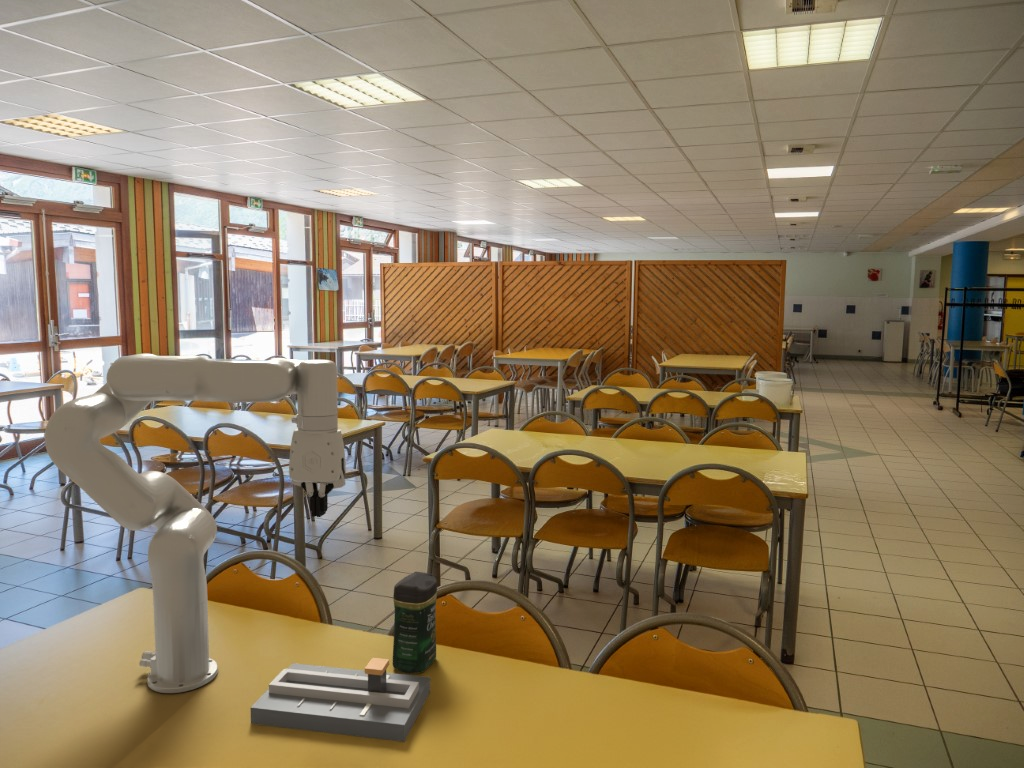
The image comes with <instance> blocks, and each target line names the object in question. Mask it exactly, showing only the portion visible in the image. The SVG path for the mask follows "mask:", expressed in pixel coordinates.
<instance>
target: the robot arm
mask: <svg viewBox="0 0 1024 768" xmlns="http://www.w3.org/2000/svg"><path fill="white" fill-rule="evenodd" d="M289 395H290V396H291V395H297V397H296V398H297V399H296V400H297V414H296V416H293V415H292V416H291V421H290V422H291V424H296V428H297V429H294V430H293V432H292V437H291V441H290V442H291V443H290V448H289V449H290V451H289V463H288V475H289V479H290V480H291V484H292V485H294V486H298V487H301V488H302V489H303V490H304V491H305V492H306V494H307V496H308V497H309V511H310V512H311V517H312V518H322V516H324V515H325V514H327V513H326V512H327V511H328V509H329V507H328V503H329V502H328V495H329V494H330V493H331V492H332V491H333V490H335V489H339V488H343V487H345V485H346V479H345V476H346V468H347V467H346V452H345V445H344V444H345V443H344V438H343V434H342V429H339V427H338V426H339V425H338V421H339V420H338V419H339V418H338V415H339V414H338V411H339V409H338V366H337V364H336V363H335V361H332V360H329V359H305V360H300V359H290V358H286V357H285V358H284V357H275V358H270V359H267V360H265V361H224V360H223V361H222V360H214V359H211V358H209V357H206V356H204V355H203V356H202V355H156V354H153V353H147V352H146V353H136V354H131V355H126V356H123V357H122V356H121V357H120V358H118V359H116V360H115V361H114V362H113V363H112V364H110V366H109V368H108V369H107V372H106V382H105V384H103V386H101V387H100V388H98V389H97V390H96V391H95V392H94V393H92V394H90V395H87V396H82V397H78V398H75V399H71V400H70V401H67V402H65V403H63V404H62V405H60V406H59V407H58V408H57V409H56V410H55V411H54V412H53V413H52V414H51V415H50V417H49V419H48V421H47V423H46V427H45V431H44V444H45V449H46V452H47V455H48V456H49V458H50V460H51V461H52V463H53V465H55V466H56V468H57V469H58V470H59V471H61V473H63V474H64V475H65V476H66V477H67V478H68V479H70V481H72V482H73V483H74V484H76V485H77V486H78V487H79V488H80V489H81V490H82V491H83V492H85V494H86V495H87V496H88V497H89V498H91V500H92V501H93V502H94V503H96V504H97V505H98V506H99V507H100V508H101V509H102V510H104V511H105V512H106V513H107V514H108V515H109V516H110V517H111V518H112V519H113V520H114V521H115V522H116V523H118V525H120V526H121V527H123V528H124V529H127V530H129V531H134V532H135V531H142V530H145V529H147V528H149V527H151V526H152V525H153V526H154V527H155V528H156V529H157V530H156V531H155V533H154V534H153V535H152V537H151V539H150V542H149V545H148V549H147V563H148V568H149V572H150V576H151V583H152V584H151V585H152V599H153V600H152V603H153V604H152V605H153V622H154V623H153V624H154V625H153V626H154V649H155V651H152V650H151V651H150V650H145V651H143V653H142V654H141V659H140V661H139V663H138V664H139V666H140V667H144V668H146V667H147V668H150V673H148V675H147V679H146V680H147V681H146V682H147V687H148V688H149V689H150V690H151V691H154V692H156V693H161V694H179V693H184V692H185V693H186V692H189V691H193V690H195V689H197V688H198V689H199V688H200V687H203V686H205V685H206V684H208V683H210V682H211V681H212V680H213V679H215V678H216V676H217V675H218V672H219V665H218V663H217V661H215V659H213V658H210V647H209V646H210V645H209V642H210V641H209V640H210V639H209V638H210V637H209V614H208V613H209V611H208V609H209V608H208V607H209V606H208V603H209V602H208V584H207V583H208V582H207V575H206V570H205V562H204V556H205V554H206V552H207V551H208V549H210V547H211V546H212V544H213V543H214V541H215V540H216V537H217V532H218V526H217V522H216V520H215V517H214V516H213V515H212V513H211V512H210V511H209V510H208V509H207V508H206V507H205V506H204V505H203V504H202V503H201V502H199V500H197V499H196V498H195V497H194V496H193V495H192V494H191V493H190V492H189V491H188V490H187V489H186V488H185V487H184V486H183V485H181V484H180V482H178V480H176V479H175V478H173V477H172V476H170V475H168V474H167V473H164V472H162V471H157V470H147V471H142V472H140V473H139V472H138V471H137V470H135V469H134V468H133V467H131V466H130V465H129V463H127V462H126V461H125V459H123V458H122V457H121V456H120V455H119V454H117V453H116V452H114V451H113V450H111V449H109V448H108V447H106V446H104V444H103V443H101V440H102V439H103V438H106V437H108V436H110V435H113V434H115V433H116V432H119V431H120V430H121V429H123V428H124V427H125V426H126V425H127V424H129V422H131V421H132V420H133V419H134V418H135V417H137V415H139V414H140V413H141V412H142V411H143V410H144V409H146V407H148V406H149V405H150V404H151V403H152V402H155V401H156V402H159V401H160V402H161V401H162V402H165V401H169V402H170V401H174V402H175V401H176V402H177V401H179V402H180V401H185V402H187V401H190V402H191V401H193V402H194V401H195V402H204V403H205V402H207V403H208V402H211V403H212V402H216V403H217V402H218V403H241V404H242V403H271V402H272V403H273V402H277V401H281V400H282V399H283V398H285V397H286V396H289Z"/></svg>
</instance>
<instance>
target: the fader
mask: <svg viewBox="0 0 1024 768" xmlns="http://www.w3.org/2000/svg"><path fill="white" fill-rule="evenodd" d="M389 666H390V659H389V658H388V659H387V658H381V657H380V658H379V657H372V658H371V659H370V660H369V662H368V663H367V665H366V666H365V668H364V670H365V674H368V692H378V693H386V673H387V668H388V667H389Z"/></svg>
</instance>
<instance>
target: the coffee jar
mask: <svg viewBox="0 0 1024 768" xmlns="http://www.w3.org/2000/svg"><path fill="white" fill-rule="evenodd" d="M392 597H393V598H392V599H393V606H394V618H393V619H394V622H393V623H394V624H393V625H394V627H393V646H392V666H393V668H394V669H395V670H397V671H398V672H400V673H403V674H408V675H412V674H419V673H423V672H425V671H427V669H429V668H430V666H431V665H432V664H433V663H434V662H435V660H436V658H437V635H436V634H437V631H436V627H437V626H436V624H437V623H436V621H437V620H436V616H437V615H436V613H437V611H436V609H437V608H436V607H437V597H438V581H437V578H436V577H435V576H434V575H433V574H432V573H428V572H423V571H422V572H421V571H414V572H413V573H411V574H410V573H409V574H408V575H405V576H404V577H403V578H401V579H400V580H399V581H398V582H397V583H396V584H394V587H393V596H392Z"/></svg>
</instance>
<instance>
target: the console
mask: <svg viewBox="0 0 1024 768" xmlns="http://www.w3.org/2000/svg"><path fill="white" fill-rule="evenodd" d="M430 693H431V677H430V676H424V675H423V676H422V675H414V674H413V675H412V674H405V673H403V674H402V673H392V672H386V693H378V692H368V674H365V669H364V670H362V669H355V668H353V669H352V668H343V667H334V666H323V665H315V664H314V665H313V664H302V663H296V662H295V663H294V662H292V663H291V665H289V666H288V668H283V669H282V670H281V671H280V672H279V673H278V674H277V675H276V676H275V677H274V678H273V679H272V681H271V682H270V683H269V684H268V689H266V690H265V692H264V693H262V695H261V696H260V697H259V698H258V699H257V700H256V701H255V702H254V703H253V704H252V705H251V706H250V725H251V724H252V725H261V726H265V727H266V726H267V727H277V728H283V729H284V728H285V729H286V728H287V729H292V730H302V731H303V730H304V731H309V732H310V731H311V732H320V733H328V734H336V735H345V736H351V737H352V736H353V737H362V738H370V739H378V740H388V741H397V742H403V743H405V741H406V740H407V737H408V736H409V733H410V732H411V731H412V730H411V729H412V728H413V726H414V724H415V722H416V720H417V718H418V716H419V714H420V713H421V711H422V708H423V707H424V705H425V703H426V701H427V700H428V697H429V695H430Z"/></svg>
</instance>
